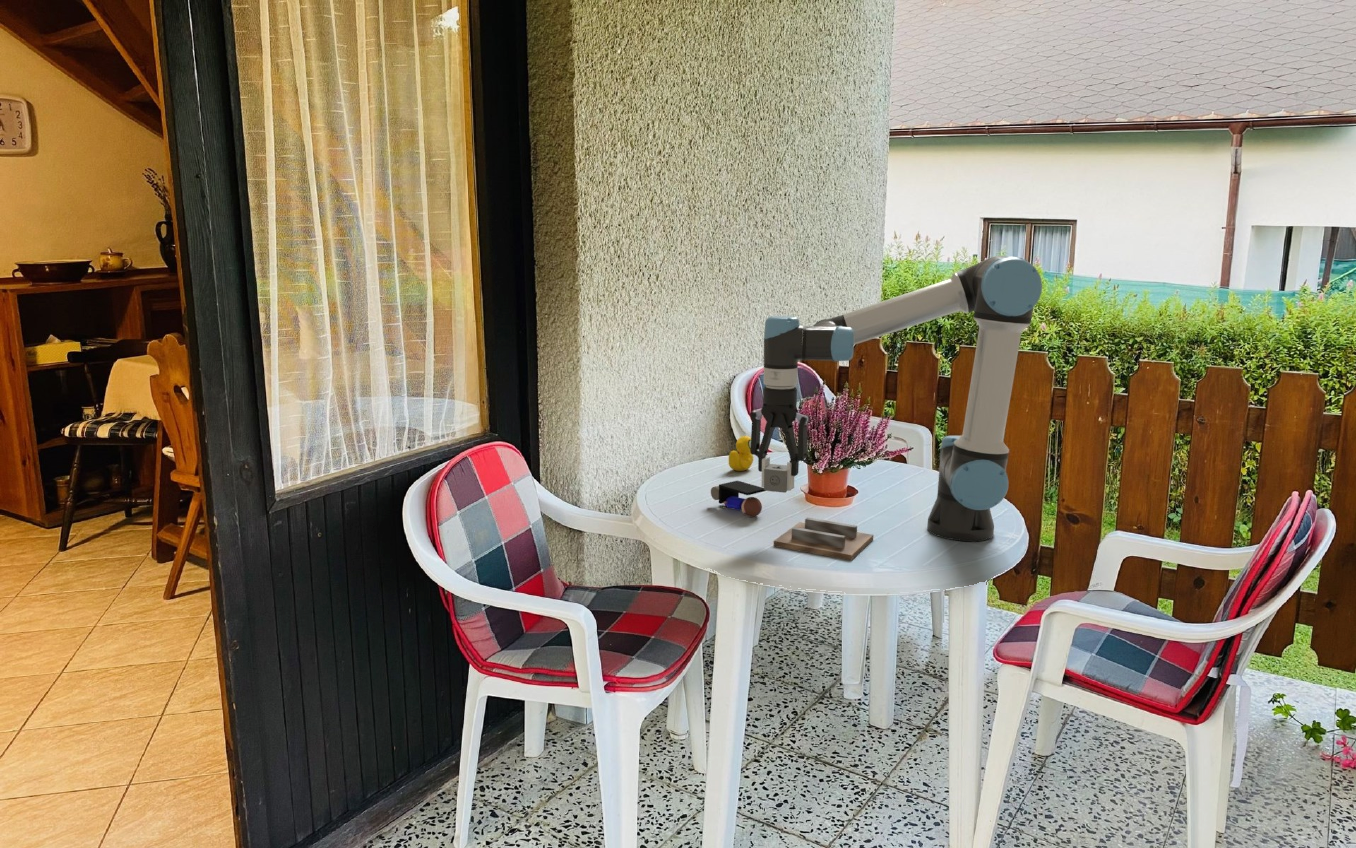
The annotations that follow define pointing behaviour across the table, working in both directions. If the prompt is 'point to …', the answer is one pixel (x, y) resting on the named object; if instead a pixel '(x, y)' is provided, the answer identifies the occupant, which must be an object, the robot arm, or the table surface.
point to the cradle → (825, 539)
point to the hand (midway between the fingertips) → (777, 487)
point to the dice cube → (775, 478)
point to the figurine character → (730, 497)
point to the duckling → (741, 455)
